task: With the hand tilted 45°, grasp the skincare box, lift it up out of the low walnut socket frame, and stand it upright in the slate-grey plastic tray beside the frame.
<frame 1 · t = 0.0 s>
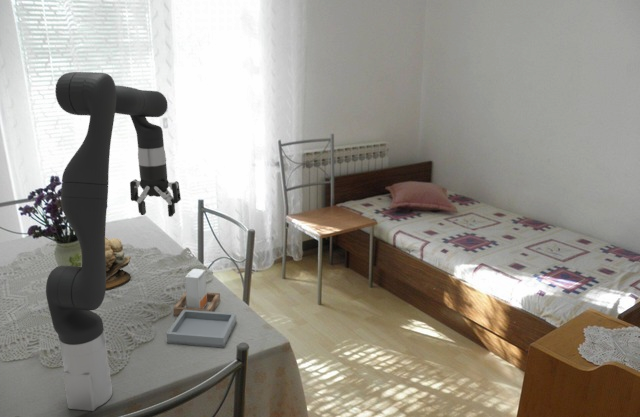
hand: (157, 215, 155), 29 cm above the table, tool pointing down, fingers open, 8 cm apart
tray: (202, 332, 149), on the table
owl figurine: (106, 283, 177), on the table
socket block: (197, 307, 162), on the table
skincare box: (197, 308, 162), resting in socket block
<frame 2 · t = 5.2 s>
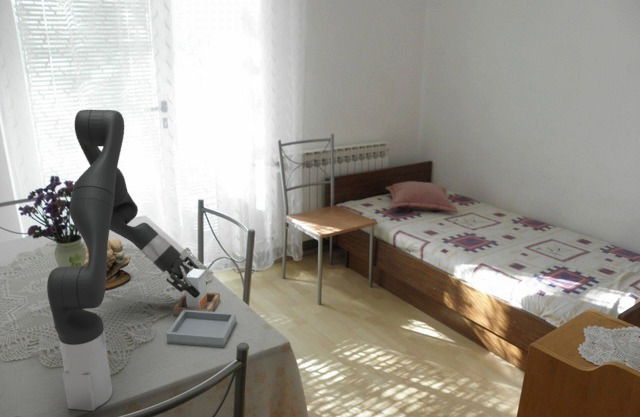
hand: (201, 290, 160), 6 cm above the table, tool tilted 45°, fingers closed on skincare box, 6 cm apart
skincare box: (197, 308, 162), resting in socket block, touching gripper
everything else where it was.
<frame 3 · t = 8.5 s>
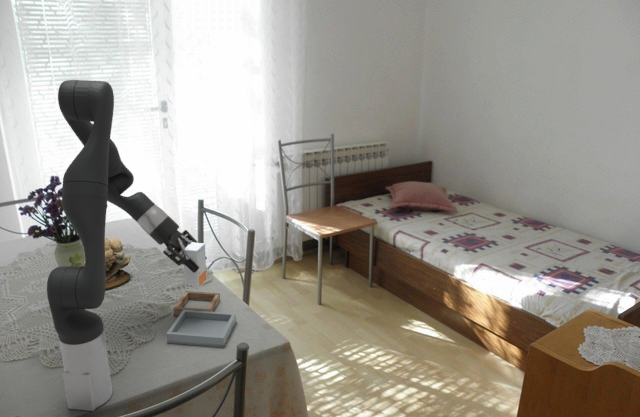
hand: (200, 265, 150), 18 cm above the table, tool tilted 45°, fingers closed on skincare box, 6 cm apart
skincare box: (196, 284, 152), point 11 cm above the table, touching gripper
everything else where it was.
when the fingers open (8 cm above the table, at t = 11.6 s): skincare box drops 1 cm, resting on tray.
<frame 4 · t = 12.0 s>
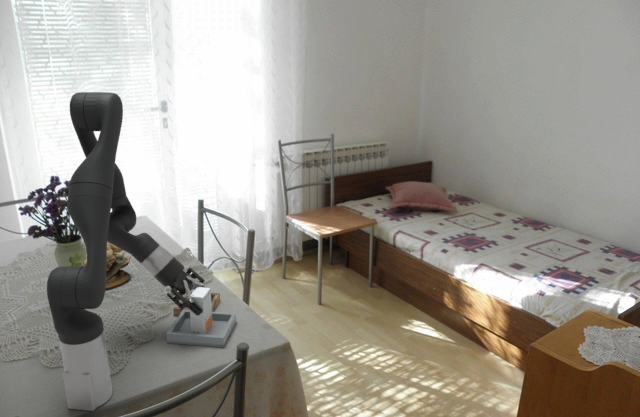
hand: (205, 305, 146), 9 cm above the table, tool tilted 45°, fingers open, 8 cm apart
skincare box: (202, 330, 149), point 1 cm above the table, touching tray
everything else where it was.
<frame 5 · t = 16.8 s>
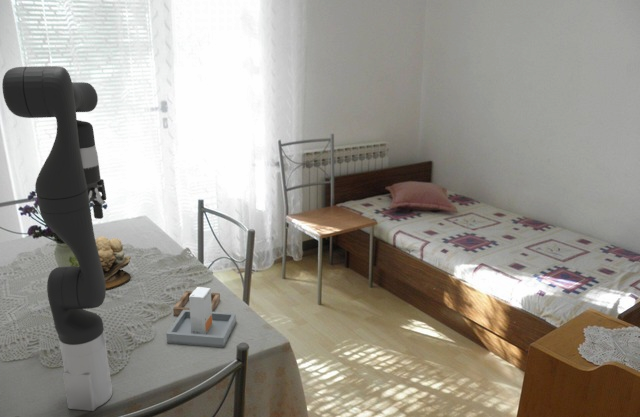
hand: (90, 223, 137), 33 cm above the table, tool pointing down, fingers open, 8 cm apart
nothing on the table moved.
at the end: skincare box inside the target area on the tray (0.3 cm from its centre), point 0.6 cm above the tray's base; skincare box tilted 0°; the gripper is holding nothing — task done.
